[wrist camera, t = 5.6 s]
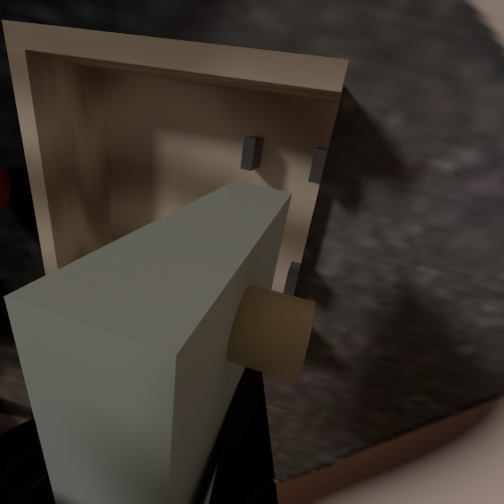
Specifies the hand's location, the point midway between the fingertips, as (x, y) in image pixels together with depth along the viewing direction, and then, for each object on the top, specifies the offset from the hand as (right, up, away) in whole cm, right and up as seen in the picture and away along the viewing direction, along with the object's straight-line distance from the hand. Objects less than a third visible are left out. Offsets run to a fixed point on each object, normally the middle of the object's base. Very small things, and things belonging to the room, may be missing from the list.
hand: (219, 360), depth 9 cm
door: (+1, +1, +2) cm, 2 cm away
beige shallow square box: (-2, +7, +11) cm, 13 cm away
